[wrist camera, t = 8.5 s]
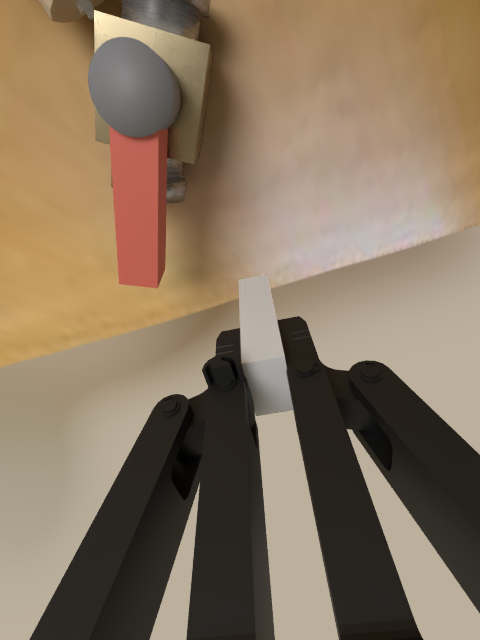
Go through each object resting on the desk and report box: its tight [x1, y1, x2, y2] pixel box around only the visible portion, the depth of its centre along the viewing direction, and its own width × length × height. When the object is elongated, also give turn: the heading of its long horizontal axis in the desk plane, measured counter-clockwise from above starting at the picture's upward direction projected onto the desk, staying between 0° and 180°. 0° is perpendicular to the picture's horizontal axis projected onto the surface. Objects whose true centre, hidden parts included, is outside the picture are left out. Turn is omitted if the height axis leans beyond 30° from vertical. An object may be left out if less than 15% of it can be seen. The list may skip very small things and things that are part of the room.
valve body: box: [94, 0, 213, 203], centre depth 24 cm, size 13×7×7 cm, turn 167°
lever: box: [88, 37, 181, 288], centre depth 21 cm, size 14×4×4 cm, turn 172°
